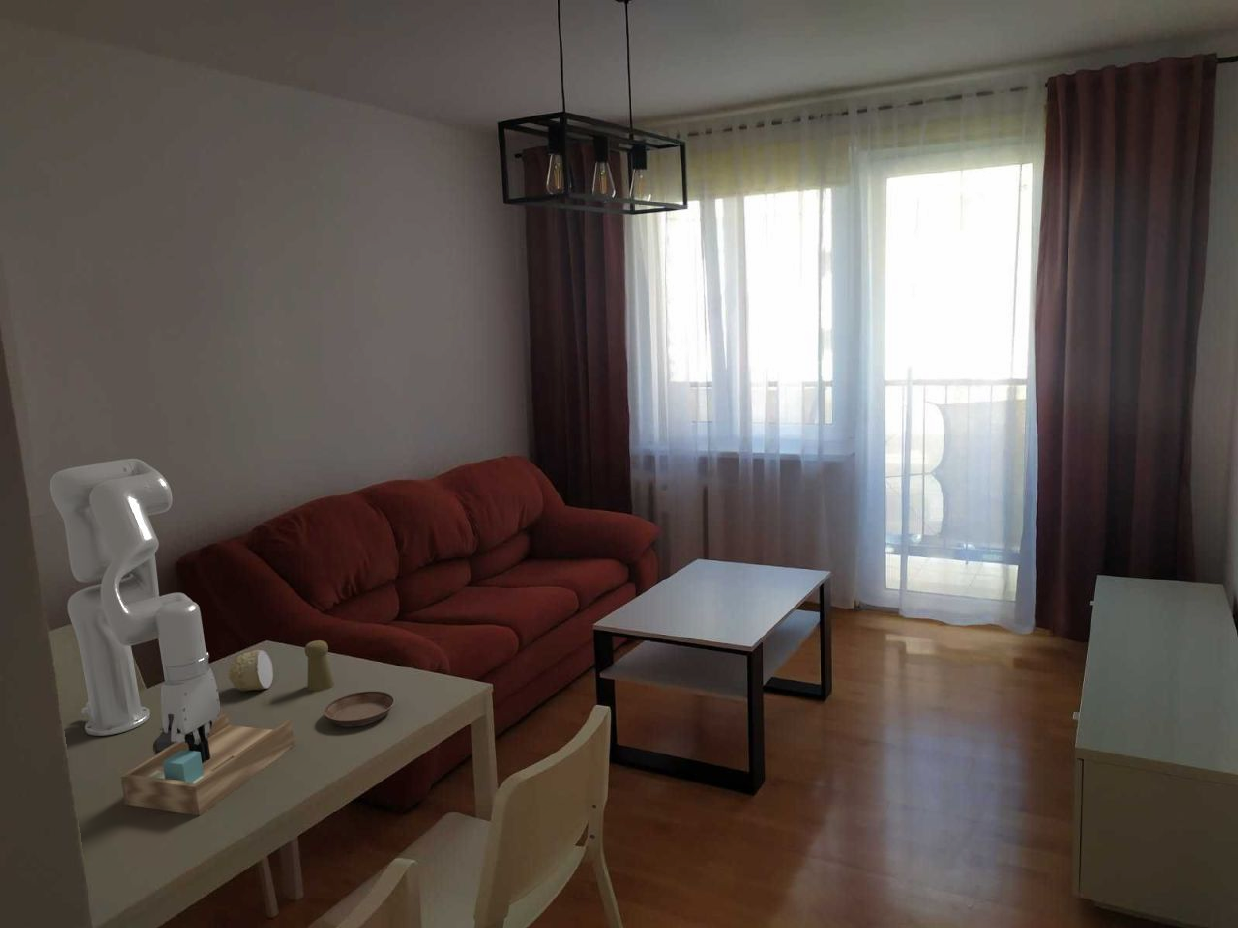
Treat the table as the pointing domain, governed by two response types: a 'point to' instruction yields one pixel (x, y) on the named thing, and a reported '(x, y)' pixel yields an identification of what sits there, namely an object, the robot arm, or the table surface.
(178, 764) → the teal block
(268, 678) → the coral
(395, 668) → the table surface
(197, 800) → the box
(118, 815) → the table surface
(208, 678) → the robot arm
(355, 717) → the saucer
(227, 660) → the table surface
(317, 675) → the cork
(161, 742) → the fan shaped piece
